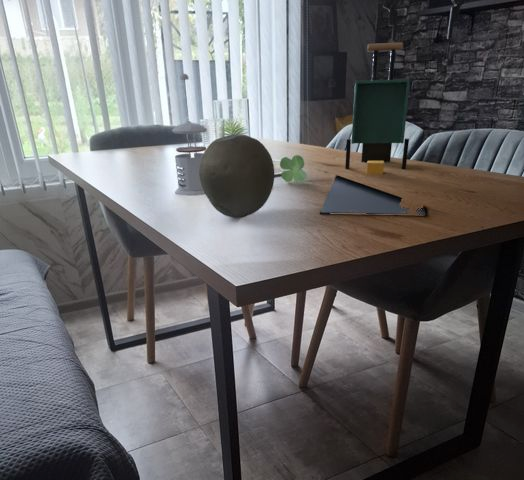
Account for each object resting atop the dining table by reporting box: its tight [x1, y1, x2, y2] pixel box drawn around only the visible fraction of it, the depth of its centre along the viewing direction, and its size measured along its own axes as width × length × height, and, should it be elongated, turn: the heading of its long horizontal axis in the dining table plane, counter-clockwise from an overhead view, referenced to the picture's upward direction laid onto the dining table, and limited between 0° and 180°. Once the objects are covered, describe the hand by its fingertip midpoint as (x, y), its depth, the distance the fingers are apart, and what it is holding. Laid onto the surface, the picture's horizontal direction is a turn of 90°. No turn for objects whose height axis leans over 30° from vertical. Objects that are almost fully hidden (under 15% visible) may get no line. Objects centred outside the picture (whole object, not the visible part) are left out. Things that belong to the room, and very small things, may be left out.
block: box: [366, 161, 385, 175], centre depth 122 cm, size 4×4×4 cm
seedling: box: [279, 154, 308, 183], centre depth 127 cm, size 7×8×7 cm
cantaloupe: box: [199, 133, 275, 219], centre depth 90 cm, size 14×14×15 cm
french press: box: [171, 73, 208, 196], centre depth 113 cm, size 10×12×25 cm
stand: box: [344, 137, 410, 170], centre depth 132 cm, size 14×16×9 cm
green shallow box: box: [351, 41, 411, 145], centre depth 119 cm, size 22×13×5 cm
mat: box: [319, 174, 427, 216], centre depth 110 cm, size 40×20×1 cm, turn 168°
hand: (420, 40), depth 123 cm, fingers open, 13 cm apart
